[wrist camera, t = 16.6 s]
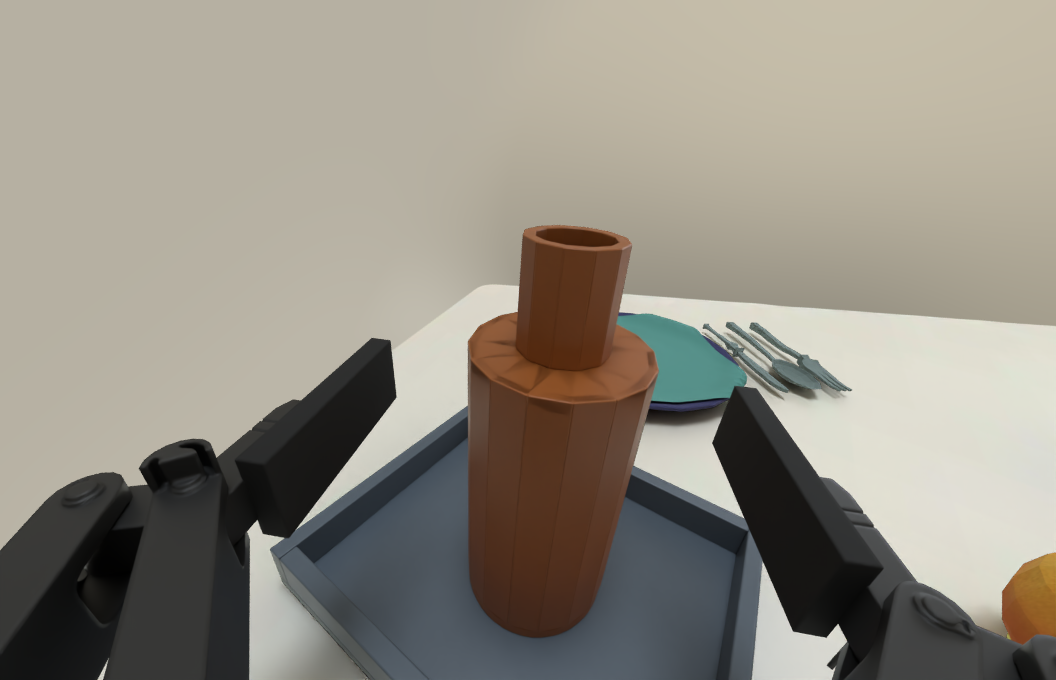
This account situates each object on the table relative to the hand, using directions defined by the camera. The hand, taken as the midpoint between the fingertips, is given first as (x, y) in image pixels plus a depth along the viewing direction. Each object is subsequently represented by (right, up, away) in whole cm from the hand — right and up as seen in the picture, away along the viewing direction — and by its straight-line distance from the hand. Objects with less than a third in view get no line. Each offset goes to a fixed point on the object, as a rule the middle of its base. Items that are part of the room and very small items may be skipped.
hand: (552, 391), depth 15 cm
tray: (-1, -10, +5) cm, 12 cm away
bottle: (-1, -10, +5) cm, 11 cm away
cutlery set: (+15, -1, +26) cm, 31 cm away
